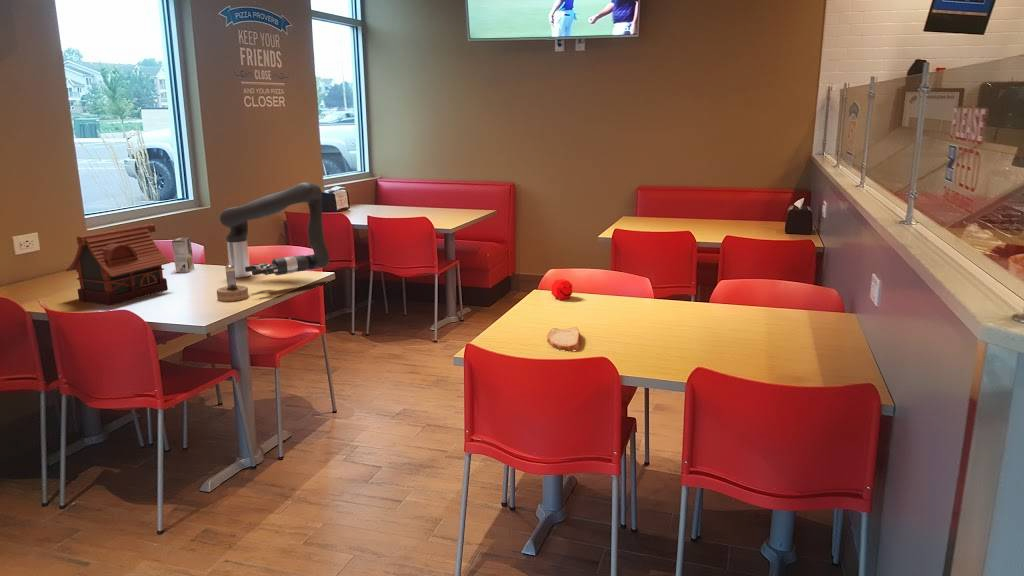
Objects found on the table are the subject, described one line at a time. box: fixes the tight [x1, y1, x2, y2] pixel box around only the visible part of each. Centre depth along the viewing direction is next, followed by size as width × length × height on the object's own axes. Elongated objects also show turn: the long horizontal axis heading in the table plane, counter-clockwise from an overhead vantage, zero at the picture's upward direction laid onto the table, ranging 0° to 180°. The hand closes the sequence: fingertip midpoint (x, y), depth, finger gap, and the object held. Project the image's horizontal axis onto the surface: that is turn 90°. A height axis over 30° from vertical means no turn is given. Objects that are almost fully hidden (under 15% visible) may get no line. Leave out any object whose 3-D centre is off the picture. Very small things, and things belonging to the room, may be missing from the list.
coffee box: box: [171, 237, 195, 273], centre depth 363 cm, size 9×6×16 cm
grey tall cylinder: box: [224, 264, 237, 290], centre depth 310 cm, size 4×4×14 cm
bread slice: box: [546, 326, 582, 352], centre depth 249 cm, size 18×18×4 cm
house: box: [65, 223, 172, 306], centre depth 315 cm, size 35×28×29 cm
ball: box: [550, 278, 573, 301], centre depth 304 cm, size 8×8×8 cm
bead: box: [216, 284, 249, 302], centre depth 311 cm, size 12×12×4 cm
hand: (248, 271), depth 314 cm, fingers open, 8 cm apart
